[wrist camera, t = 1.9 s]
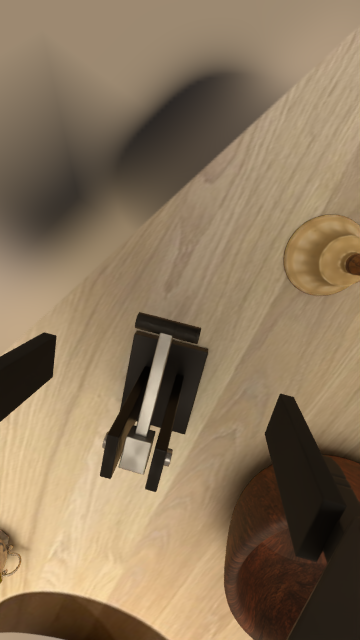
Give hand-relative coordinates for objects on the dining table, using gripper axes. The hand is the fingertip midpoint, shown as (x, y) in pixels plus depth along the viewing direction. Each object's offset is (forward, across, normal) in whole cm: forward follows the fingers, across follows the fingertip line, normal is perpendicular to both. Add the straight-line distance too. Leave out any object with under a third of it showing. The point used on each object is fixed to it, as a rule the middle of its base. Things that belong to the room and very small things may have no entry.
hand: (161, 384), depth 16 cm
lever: (+8, -1, -6) cm, 10 cm away
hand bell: (+18, +13, +9) cm, 24 cm away
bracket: (+18, -1, -10) cm, 21 cm away
